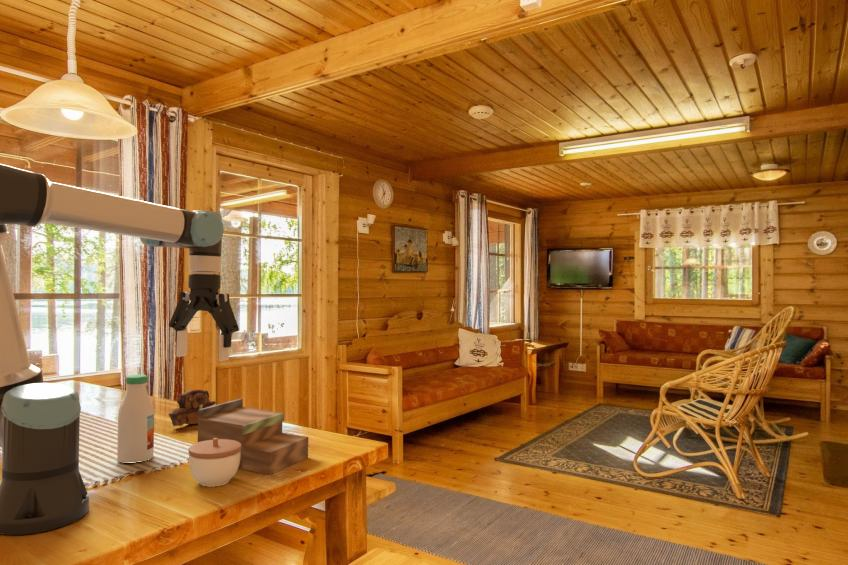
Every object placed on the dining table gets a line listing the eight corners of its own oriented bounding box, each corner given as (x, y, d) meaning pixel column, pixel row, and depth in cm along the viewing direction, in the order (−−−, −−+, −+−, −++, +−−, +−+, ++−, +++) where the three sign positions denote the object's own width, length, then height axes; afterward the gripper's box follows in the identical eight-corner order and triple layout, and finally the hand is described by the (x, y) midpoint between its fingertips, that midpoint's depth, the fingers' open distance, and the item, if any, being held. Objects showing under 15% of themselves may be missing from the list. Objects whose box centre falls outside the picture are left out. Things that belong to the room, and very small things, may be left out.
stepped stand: (270, 474, 129) (271, 421, 129) (197, 459, 139) (198, 409, 138) (308, 457, 142) (309, 408, 142) (239, 444, 151) (239, 398, 151)
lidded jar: (251, 480, 126) (252, 437, 126) (208, 495, 117) (209, 449, 117) (220, 470, 132) (221, 429, 132) (177, 483, 123) (178, 439, 123)
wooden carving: (180, 432, 162) (181, 396, 162) (167, 430, 163) (167, 395, 163) (218, 418, 177) (219, 385, 177) (206, 416, 179) (206, 384, 179)
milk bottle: (138, 466, 133) (140, 379, 133) (109, 463, 135) (110, 377, 134) (160, 456, 141) (161, 373, 140) (132, 453, 142) (133, 372, 142)
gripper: (255, 274, 143) (252, 360, 143) (178, 272, 152) (176, 353, 152) (234, 274, 136) (231, 364, 136) (155, 271, 145) (152, 356, 146)
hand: (202, 358), depth 144 cm, fingers open, 13 cm apart
